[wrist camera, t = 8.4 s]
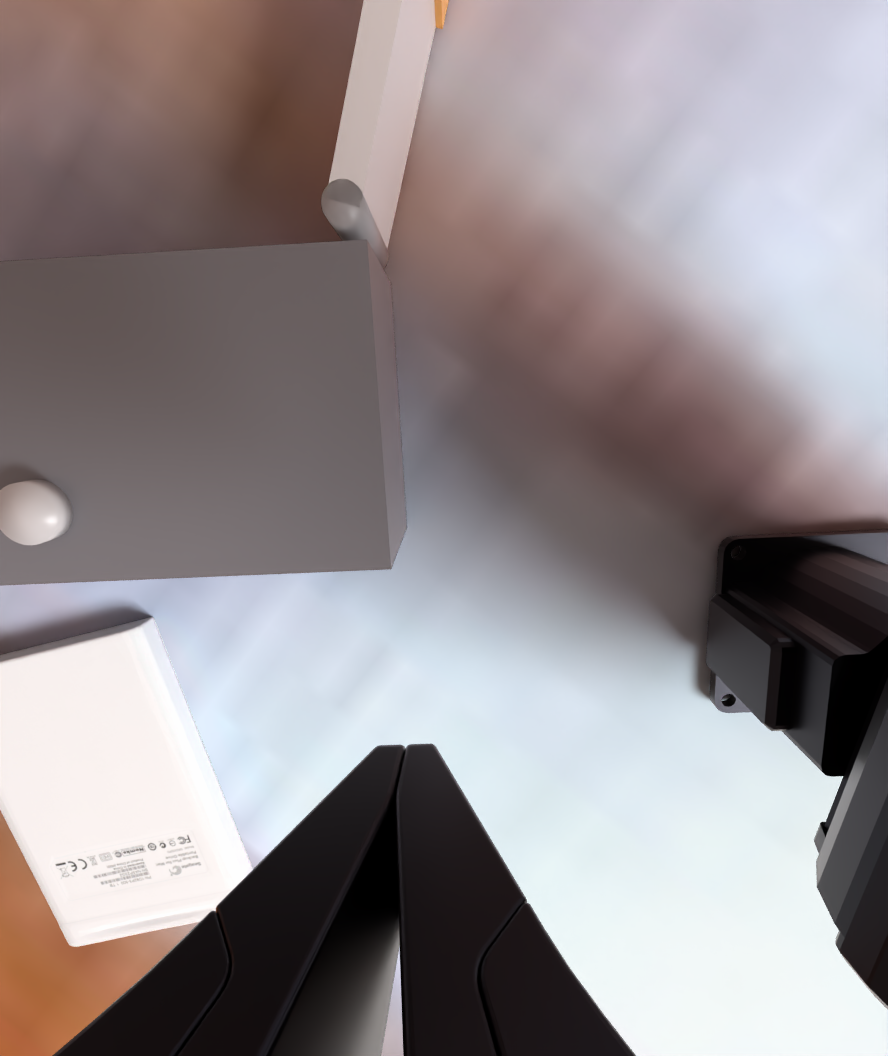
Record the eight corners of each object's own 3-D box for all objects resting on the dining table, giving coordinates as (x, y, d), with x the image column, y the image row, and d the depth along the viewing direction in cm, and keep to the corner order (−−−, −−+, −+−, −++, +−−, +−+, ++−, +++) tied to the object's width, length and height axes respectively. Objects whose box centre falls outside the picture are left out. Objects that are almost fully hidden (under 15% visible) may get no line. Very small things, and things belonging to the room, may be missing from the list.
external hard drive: (161, 610, 21) (266, 880, 24) (-35, 659, 22) (88, 917, 24) (137, 627, 20) (252, 914, 22) (-74, 680, 20) (62, 953, 23)
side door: (387, 277, 18) (327, 167, 9) (350, 267, 18) (257, 149, 9) (452, -19, 16) (450, -476, 8) (412, -31, 16) (364, -503, 8)
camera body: (391, 283, 18) (362, 231, 12) (406, 527, 20) (388, 576, 14) (-24, 307, 18) (-227, 266, 13) (28, 544, 20) (-132, 597, 15)
